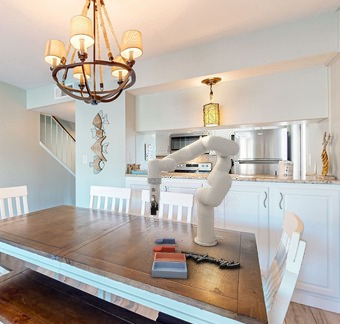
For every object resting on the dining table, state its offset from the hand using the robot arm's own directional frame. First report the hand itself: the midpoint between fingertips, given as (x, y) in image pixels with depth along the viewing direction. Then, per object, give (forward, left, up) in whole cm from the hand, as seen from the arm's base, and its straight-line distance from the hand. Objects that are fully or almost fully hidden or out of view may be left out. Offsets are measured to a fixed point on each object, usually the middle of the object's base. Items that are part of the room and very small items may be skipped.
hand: (154, 212), depth 113 cm
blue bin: (-9, +25, -19) cm, 32 cm away
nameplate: (-27, +13, -19) cm, 35 cm away
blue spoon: (-6, -7, -19) cm, 21 cm away
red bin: (-9, +16, -19) cm, 26 cm away
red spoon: (-6, +4, -19) cm, 20 cm away
